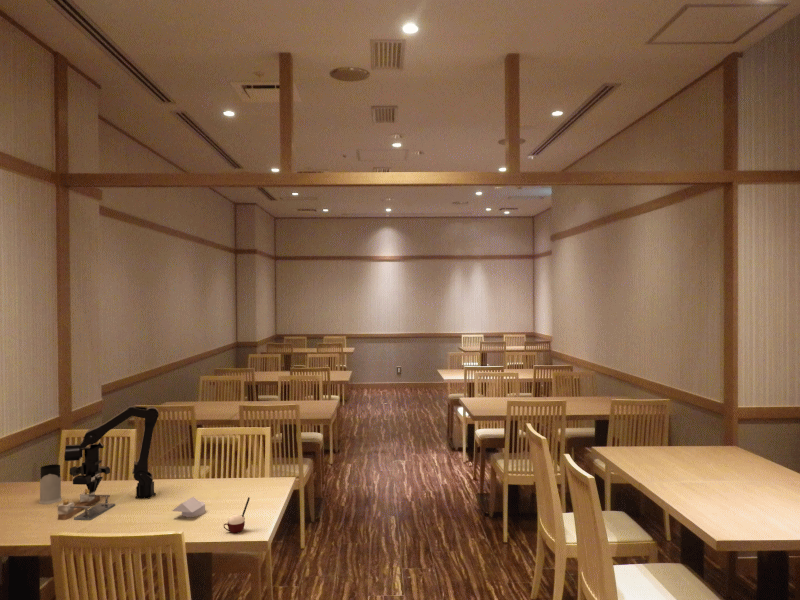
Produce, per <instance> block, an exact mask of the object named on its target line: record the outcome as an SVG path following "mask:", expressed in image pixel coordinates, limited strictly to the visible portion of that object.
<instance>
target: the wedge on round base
mask: <svg viewBox="0 0 800 600" xmlns="http://www.w3.org/2000/svg"><path fill="white" fill-rule="evenodd" d="M171 512H181V515H182V516H183V517H185V516H186V517H187V518H192V517H193V516H195V517H199V516H202V515H204V514H205V513H206V503H205V502H204V501H201V500H198V499H197V498H196V497H195V496H192V497H190V498H188V499H187V500H185V501H183V502H181V503H180V504H179V505H178V506H176V507H175V508H174V509H172V510H171ZM198 515H199V516H198ZM186 517H185V518H186ZM193 518H194V517H193Z"/></svg>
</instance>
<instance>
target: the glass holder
mask: <svg viewBox="0 0 800 600" xmlns="http://www.w3.org/2000/svg"><path fill="white" fill-rule="evenodd" d="M61 477H62V476H61V465H60V464H47V465H43V466H41V467H40V478H39V484H40V485H39V501H38V504H39V505H53V504H57V503H60V502H62V501H63V498H62V489H61V488H62V485H61V484H62V482H61V481H62V479H61Z"/></svg>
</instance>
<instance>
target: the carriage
mask: <svg viewBox="0 0 800 600" xmlns="http://www.w3.org/2000/svg"><path fill="white" fill-rule="evenodd" d="M95 493H96V491H95V492H94V491H90V489H88V488H85V489H84V491H83V492H82V493H80V494H79V503H80V502H89V501H91V500H93V499H95V497H100V498H105V502H104V503H109V501H108V500H109V499H108V498H110V496H111V495H110V494H95Z"/></svg>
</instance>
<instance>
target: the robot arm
mask: <svg viewBox="0 0 800 600" xmlns="http://www.w3.org/2000/svg"><path fill="white" fill-rule="evenodd" d="M159 415H160V414H159V409H158V408H157V407H155V406H148V407H146V406H145V407H144V406H135V405H129V406H127V408H125V409H124V410H122V411H120V412H119V413H118V414H116V415H115V416H113V417H112V418H110V419H108V420H107V421H105V422H104V423H102V424H98V425H96V426H94V427H91V428H89V429H88V430H86V431H85V433H84V436H83V440H81V442H80V443H79V444H66V445H65V449H64V462H74V461H80V460H81V459H82V458H84V461H83V462H81V465H80V466H76V465H75V466H73V467H69V473H68V474H69V475H70V476H72V477H74V478H73V479H72V485H79V486H80V485H84V486H85V485H86V487H87V488H86V489H90V491H94V492H95V493H96V491H97V489H98V487H99V485H100V483H101V481H102V479H103V476H101V475H100V474H105V475H108V474H110V473H111V468H110V467H109V466H104V465H103V466H101V465H100V463H102V459H100V449H103V448H105V445H104V444H103V443H102V442H101V441H99V440H101V439H102V438H103V437H104V436H105V435H106V434H107V433H108V432H109V431H111V430H113V429H114V428H116V427H117V426H119V425H120V424H121V423H123V422H125V421H126V420H128V419H129V418H131V417H137V418H141V419H144V431H143V436H142V441H141V447H140V452H139V458H137V459H138V460H137V461H134V462H133V468H132V475H133V478H134V480H135V481H136V482H137V485H136V487H135V489H136V491H135V492H136V496H135V498H134V499H151V498H153V497H154V496H155V495H157V492H155V481H154V477H153V476H154V475H153V474H152V473H151V472H150V471H149V463H148V461H149V456H150V449H151V444H152V439H153V433H154V428H155V426H156V423H157V421H158V418H159ZM97 442H98V443H97ZM89 445H90V446H89Z"/></svg>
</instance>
